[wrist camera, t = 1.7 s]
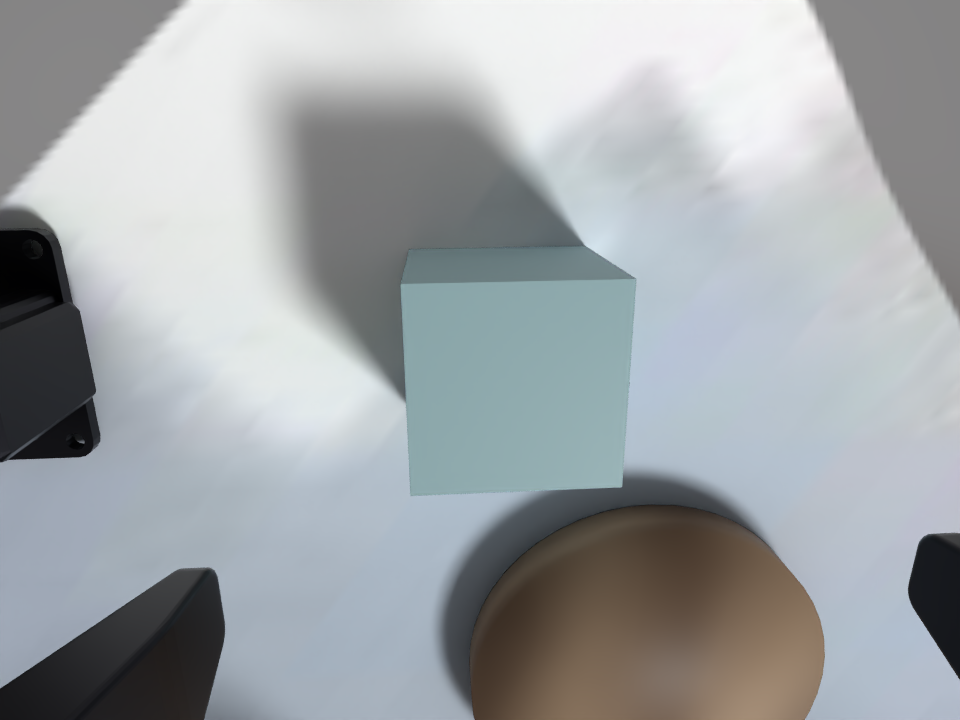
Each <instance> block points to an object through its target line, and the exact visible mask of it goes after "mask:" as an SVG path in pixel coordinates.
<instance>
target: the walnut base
mask: <svg viewBox="0 0 960 720" xmlns="http://www.w3.org/2000/svg"><path fill="white" fill-rule="evenodd" d="M824 658H825V652H824V636H823V631H822V627H821V622H820V619H819V616H818V614H817V611H816V609H815V606H814V604H813V602H812V600H811V599H810V597H809V595H808V594H807V592H806V590H805V589H804V587H803V586H802V585H801V584H800V582H799V581H798V580H797V579H796V578H795V576H794V575H793V574H792V573H791V572H790V571H789V569H788V568H787V567H786V566H785V565H784V563H783V562H782V561H781V560H780V559H779V558H778V556H777V555H776V554H775V553H774V552H773V551H772V550H771V548H770V547H769V546H768V545H767V544H766V543H765V542H763V541H762V540H761V539H760V538H758V537H757V536H756V535H755V534H754V533H752V532H751V531H749V530H747V529H746V528H744V527H742V526H741V525H739V524H737V523H736V522H734V521H731V520H729V519H727V518H724V517H722V516H719V515H717V514H714V513H710V512H707V511H703V510H699V509H696V508H689V507H682V506H675V505H643V506H633V507H624V508H620V509H615V510H611V511H606V512H602V513H599V514H596V515H593V516H590V517H587V518H584V519H581V520H579V521H577V522H574V523H572V524H570V525H568V526H566V527H564V528H562V529H559V530H558V531H556V532H554V533H553V534H551V535H549V536H548V537H546V538H545V539H543V540H541V541H540V542H538V543H537V544H536V545H534V546H533V547H532V548H531V549H529V550H528V551H527V552H526V553H524V554H523V555H522V556H520V557H519V558H518V560H517V561H516V562H515V563H514V564H513V565H512V566H511V567H510V568H509V569H508V570H507V571H506V572H505V573H504V574H503V575H502V577H501V578H500V579H499V581H498V582H497V583H496V585H495V586H494V587H493V589H492V590H491V592H490V594H489V595H488V597H487V599H486V601H485V602H484V604H483V606H482V608H481V610H480V613H479V616H478V618H477V621H476V623H475V626H474V630H473V635H472V639H471V644H470V659H469V665H470V679H471V694H472V705H473V715H474V718H475V720H805V718H806V716H807V715H808V713H809V711H810V709H811V707H812V705H813V702H814V700H815V698H816V695H817V693H818V689H819V686H820V682H821V679H822V675H823V667H824Z"/></svg>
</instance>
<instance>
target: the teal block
mask: <svg viewBox="0 0 960 720" xmlns="http://www.w3.org/2000/svg"><path fill="white" fill-rule="evenodd" d="M400 285H401V306H402V327H403V348H404V369H405V390H406V411H407V432H408V453H409V474H410V495H411V496H422V495H447V494H471V493H495V492H520V491H544V490H568V489H592V488H617V487H622V480H623V466H624V451H625V437H626V422H627V408H628V393H629V378H630V364H631V349H632V335H633V320H634V306H635V291H636V278H634V277H632V276H631V275H629V274H628V273H626V272H625V271H623V270H622V269H620V268H619V267H617V266H616V265H614V264H612V263H611V262H609V261H608V260H606V259H605V258H603V257H602V256H600V255H599V254H597V253H595V252H594V251H592V250H591V249H589V248H588V247H586V246H549V247H494V248H439V249H409V252H408V256H407V260H406V264H405V268H404V272H403V276H402V280H401V284H400Z"/></svg>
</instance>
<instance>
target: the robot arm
mask: <svg viewBox="0 0 960 720" xmlns="http://www.w3.org/2000/svg"><path fill="white" fill-rule="evenodd" d="M33 240H35V241H37V242H38V243H39V244H40V245H41V247H42V249H43V254H42V256H38V255H37V254H35V253H34V252H33V250H32V248H31V242H32V241H33ZM95 393H96V388H95V383H94V378H93V373H92V368H91V363H90V359H89V354H88V349H87V344H86V339H85V334H84V330H83V325H82V320H81V315H80V311H79V310H78V309H77V308H76V307H75V306H74V305H73V303H72V298H71V293H70V288H69V283H68V279H67V274H66V269H65V264H64V260H63V255H62V250H61V246H60V244H59V241H58V239H57V238H56V237H55V236H54V235H53V234H52V233H50V232H49V231H47V230H45V229H39V228H17V229H0V462H4V461H7V460H16V459H43V458H71V457H82V456H86V455H87V454H89V453H90V452H91V451H93V450H94V449H95V448H96V447H97V446H98V444H99V442H100V431H99V426H98V422H97V417H96V412H95V407H94V403H93V398H92V396H93V395H94V394H95ZM74 433H75V434H79V435H80V436H82V437H83V439H84V441H85V444H83V443H79V442H78V441H76V440H75V438H74ZM908 594H909V599H910V602H911V604H912V606H913V608H914V610H915V611H916V613H917V615H918V616H919V618H920V619H921V621H922V622H923V624H924V625H925V627H926V628H927V630H928V631H929V633H930V635H931V636H932V638H933V639H934V641H935V642H936V644H937V645H938V647H939V648H940V650H941V651H942V653H943V655H944V656H945V658H946V659H947V661H948V662H949V664H950V665H951V667H952V668H953V670H954V671H955V673H956V675H957V676H958V678H959V679H960V533H940V534H928V535H926V536H924V537H923V538H922V539H921V540H920V542H919V544H918V548H917V552H916V556H915V560H914V564H913V568H912V573H911V577H910V581H909V586H908ZM224 637H225V621H224V614H223V608H222V602H221V595H220V589H219V582H218V577H217V575H216V573H215V571H214V570H213V569H211V568H208V567H207V568H185V569H179V570H176V571H175V572H173V573H171V574H170V575H169V576H167V577H166V578H164V579H163V580H161V581H160V582H158V583H157V584H155V585H154V586H152V587H151V588H149V589H148V590H146V591H145V592H143V593H142V594H140V595H139V596H137V597H136V598H134V599H133V600H131V601H130V602H128V603H127V604H125V605H124V606H122V607H121V608H119V609H118V610H116V611H115V612H113V613H112V614H111V615H109V616H108V617H106V618H105V619H103V620H102V621H100V622H99V623H97V624H96V625H94V626H93V627H91V628H90V629H88V630H87V631H85V632H84V633H82V634H81V635H79V636H78V637H76V638H75V639H73V640H72V641H70V642H69V643H67V644H66V645H64V646H63V647H61V648H60V649H58V650H57V651H56V652H54V653H53V654H51V655H50V656H48V657H47V658H45V659H44V660H42V661H41V662H39V663H38V664H36V665H35V666H33V667H32V668H30V669H29V670H27V671H26V672H24V673H23V674H21V675H20V676H18V677H17V678H15V679H14V680H12V681H11V682H9V683H8V684H6V685H5V686H3V687H2V688H0V720H204V718H205V714H206V710H207V706H208V702H209V698H210V695H211V691H212V687H213V683H214V679H215V675H216V671H217V667H218V663H219V659H220V655H221V652H222V648H223V643H224Z"/></svg>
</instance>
